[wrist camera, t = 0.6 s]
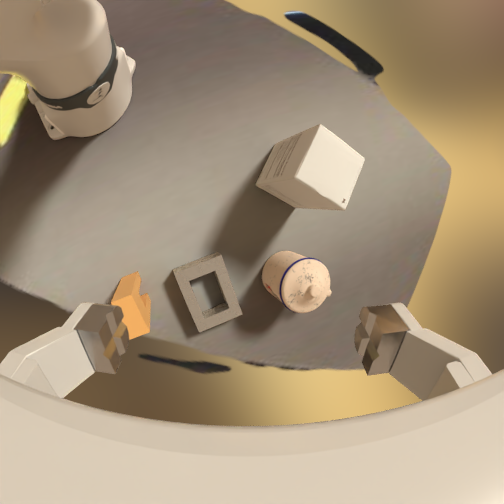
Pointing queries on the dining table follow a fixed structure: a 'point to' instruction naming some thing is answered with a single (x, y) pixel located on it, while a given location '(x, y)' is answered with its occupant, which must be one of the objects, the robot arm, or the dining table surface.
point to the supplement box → (312, 170)
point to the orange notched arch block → (133, 305)
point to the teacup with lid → (296, 281)
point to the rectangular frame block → (231, 303)
